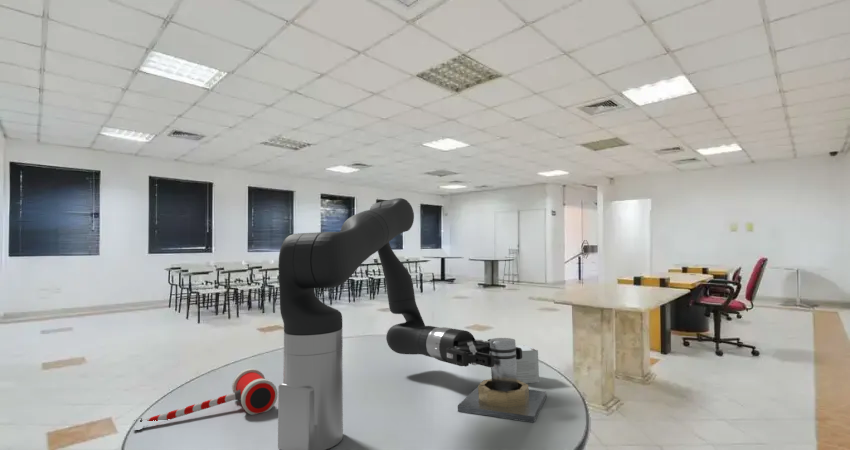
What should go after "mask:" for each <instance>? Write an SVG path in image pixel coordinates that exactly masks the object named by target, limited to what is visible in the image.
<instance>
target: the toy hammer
mask: <svg viewBox="0 0 850 450" xmlns="http://www.w3.org/2000/svg"><path fill="white" fill-rule="evenodd" d="M231 389H232V393H228V394H225V395H222V396H218V397H216V398H212V399H208V400H204V401H201V402H198V403H196V404H195V403H194V404H191V405H189V406H185V407H182V408H178V409H174V410H172V411H171V410H170V411H169V412H164V413H161V414H159V415H158V414H157V415H155V416H151V417H146V418H144V419H143V418H140V419H141V420H140V422H142V421H143V420H147V421H153V420H154V421H155V420H156V421H158V420H167V421H169V420H168V419H170V420H173V419H177V418H180V417H183V416H185V415H189V414H193V413H196V412H199V411H202V410H206V409H208V408H213V407H215V406H219V405H222V404H225V403H226V404H227V403H229V402H232V401H240V403H241V406H242V408H243V410H245V412H246V413H248V414H249V415H257V414H262V413H266V412H269V411H271V409H272V408H273V407H274V406H275V405H276V402H277V399H278V389H277V387H276V385H275V384H274V383H273V382H272V381H271V380H269V379H267V378H266V377H265V376H264V373H262V372H261V371H260V370H259V369H257V368H253V367H252V368H245V369H243V370H241V371H240V372H238V374H237V375H236V376H235V377H234V379H233V381H232V384H231ZM135 420H136V419H135ZM135 420H133V422H134V421H135Z"/></svg>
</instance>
